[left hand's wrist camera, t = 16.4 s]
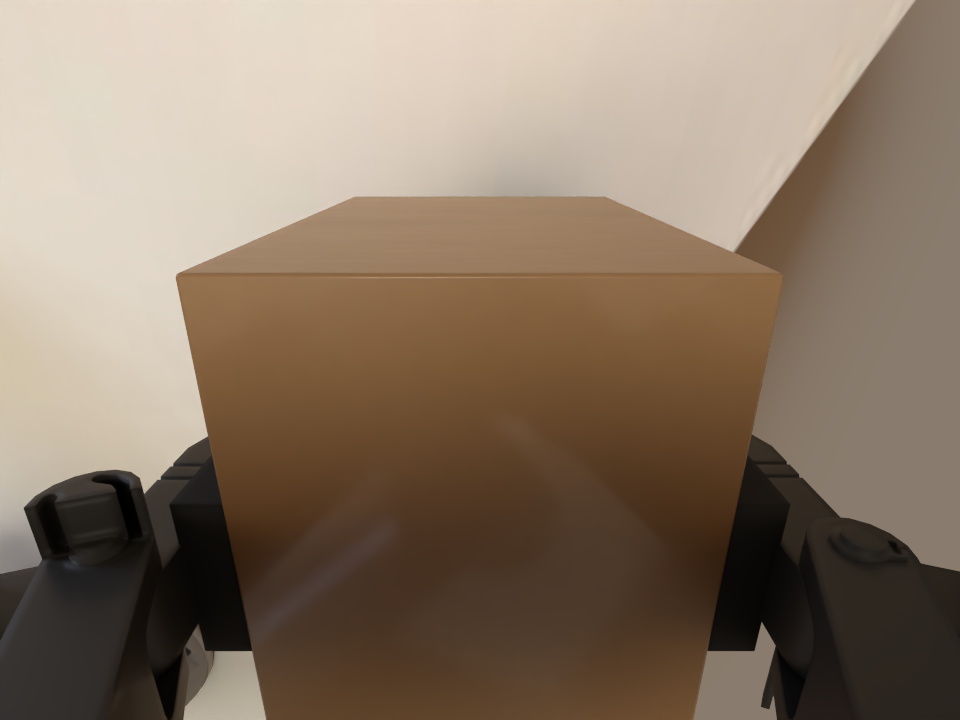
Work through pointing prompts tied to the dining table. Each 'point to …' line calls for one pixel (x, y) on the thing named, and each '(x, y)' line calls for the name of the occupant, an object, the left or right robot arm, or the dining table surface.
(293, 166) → the dining table surface
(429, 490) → the block
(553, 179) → the dining table surface
